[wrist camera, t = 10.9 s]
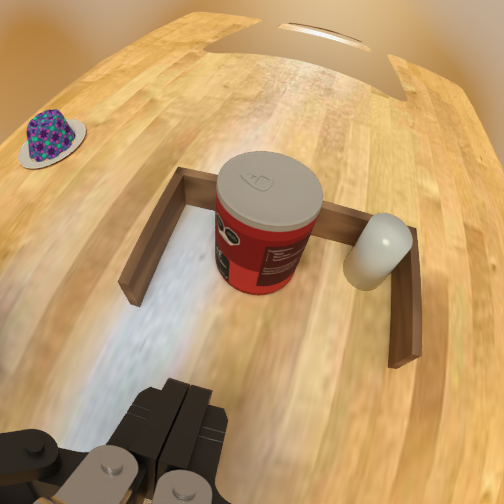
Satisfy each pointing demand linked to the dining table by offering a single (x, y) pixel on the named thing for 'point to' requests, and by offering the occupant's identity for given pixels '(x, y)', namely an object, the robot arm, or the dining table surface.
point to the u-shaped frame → (327, 226)
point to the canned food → (263, 219)
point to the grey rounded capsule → (377, 251)
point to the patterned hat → (50, 139)
